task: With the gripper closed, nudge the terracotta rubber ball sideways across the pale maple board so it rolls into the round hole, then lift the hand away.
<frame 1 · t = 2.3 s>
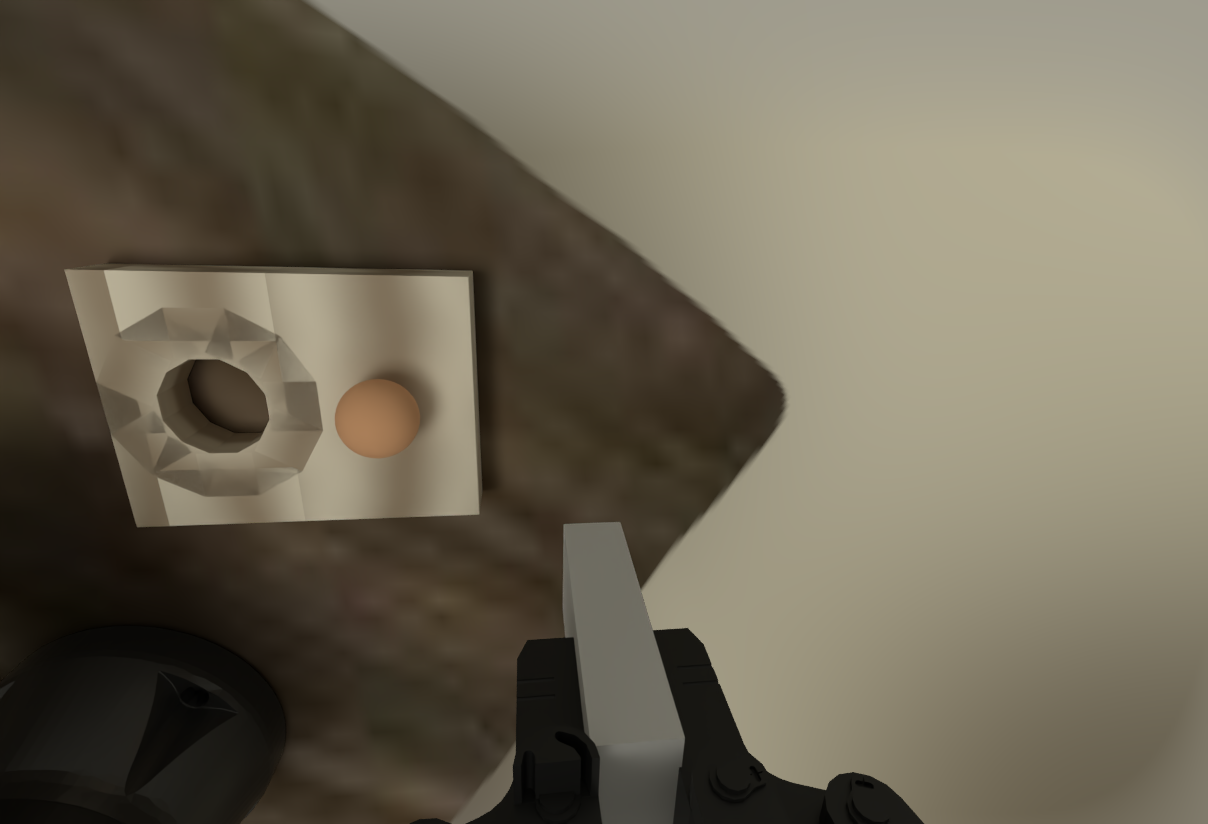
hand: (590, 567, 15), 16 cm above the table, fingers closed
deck: (314, 389, 29), on the table
ball: (378, 418, 25), point 4 cm above the table, touching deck
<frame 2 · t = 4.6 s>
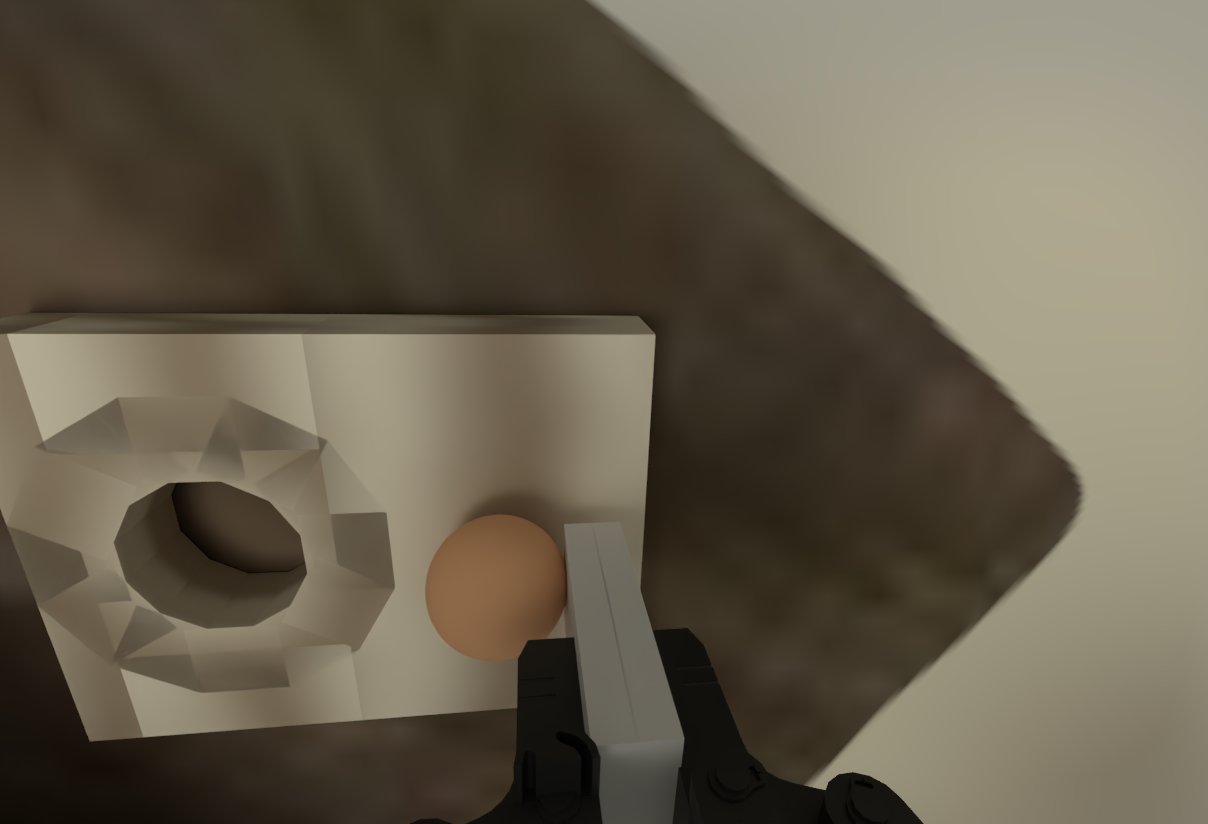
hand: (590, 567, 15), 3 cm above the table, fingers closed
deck: (375, 506, 18), on the table
ball: (498, 585, 14), point 4 cm above the table, touching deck, gripper
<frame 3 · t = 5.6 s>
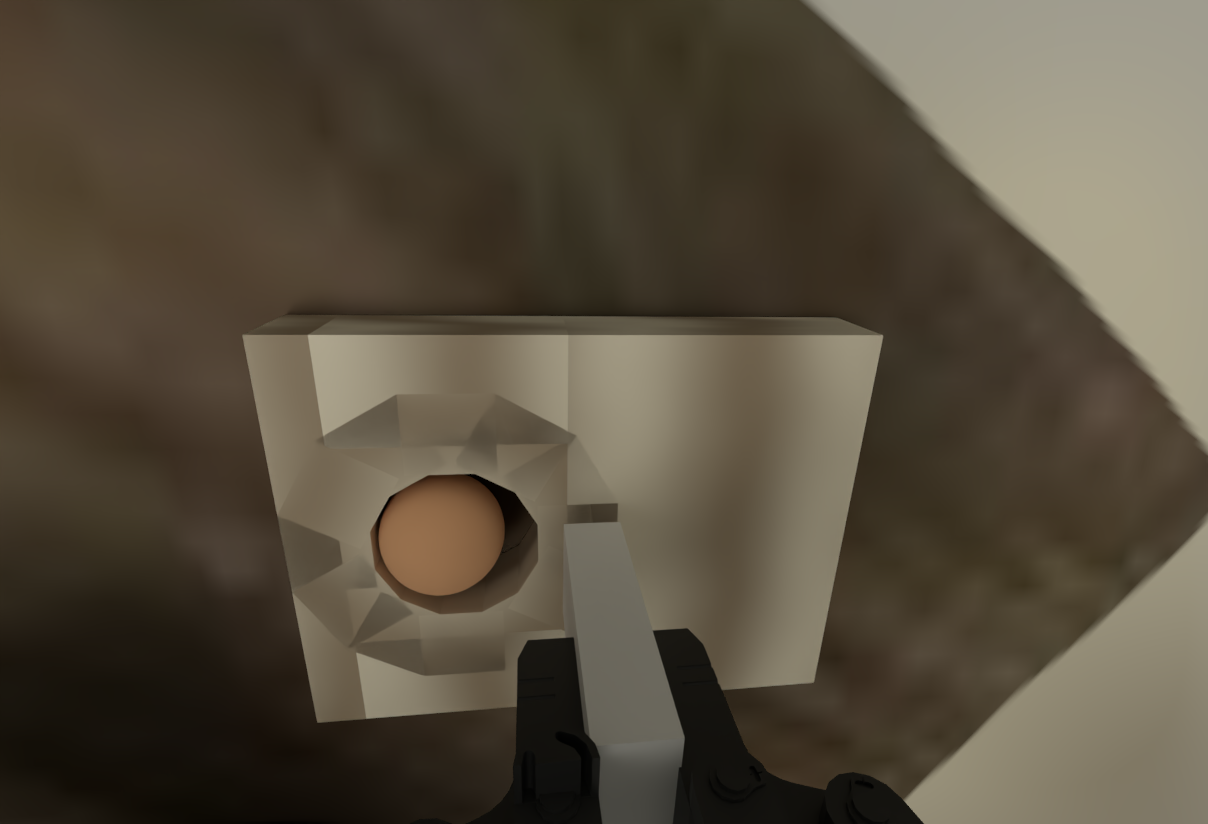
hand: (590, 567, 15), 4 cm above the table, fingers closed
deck: (575, 498, 19), on the table
ball: (443, 532, 17), point 2 cm above the table, tilted 43°
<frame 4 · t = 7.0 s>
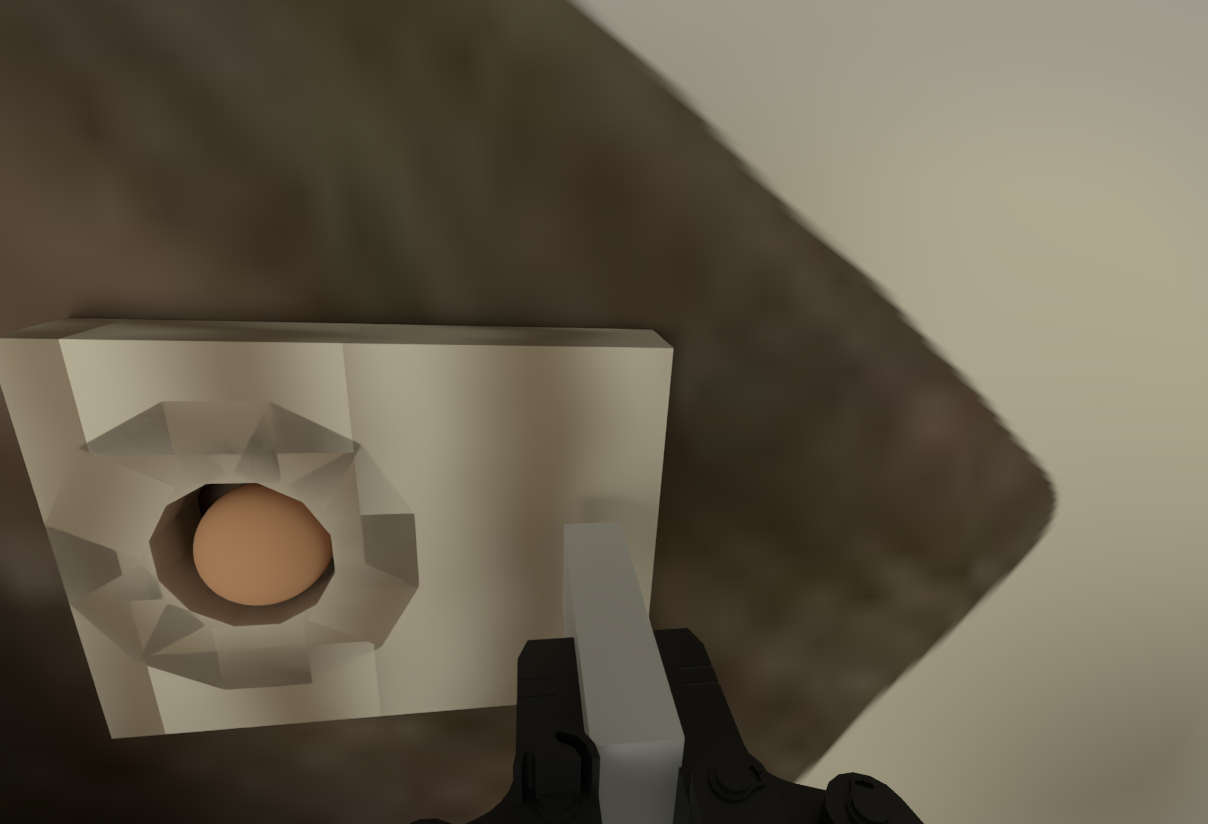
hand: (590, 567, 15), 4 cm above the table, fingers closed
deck: (396, 508, 18), on the table
ball: (268, 540, 16), point 2 cm above the table, tilted 68°
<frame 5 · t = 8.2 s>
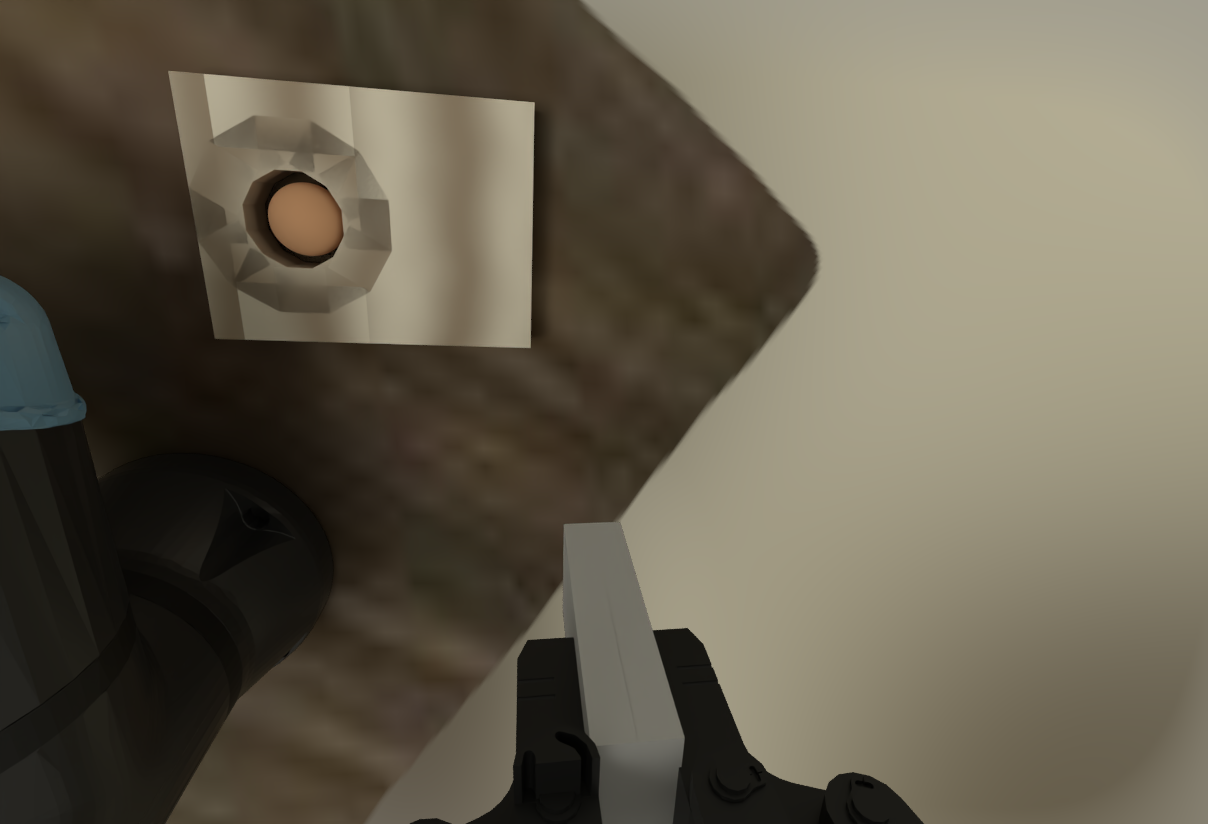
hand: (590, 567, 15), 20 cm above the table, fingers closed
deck: (381, 222, 31), on the table
ball: (308, 219, 28), point 2 cm above the table, tilted 71°
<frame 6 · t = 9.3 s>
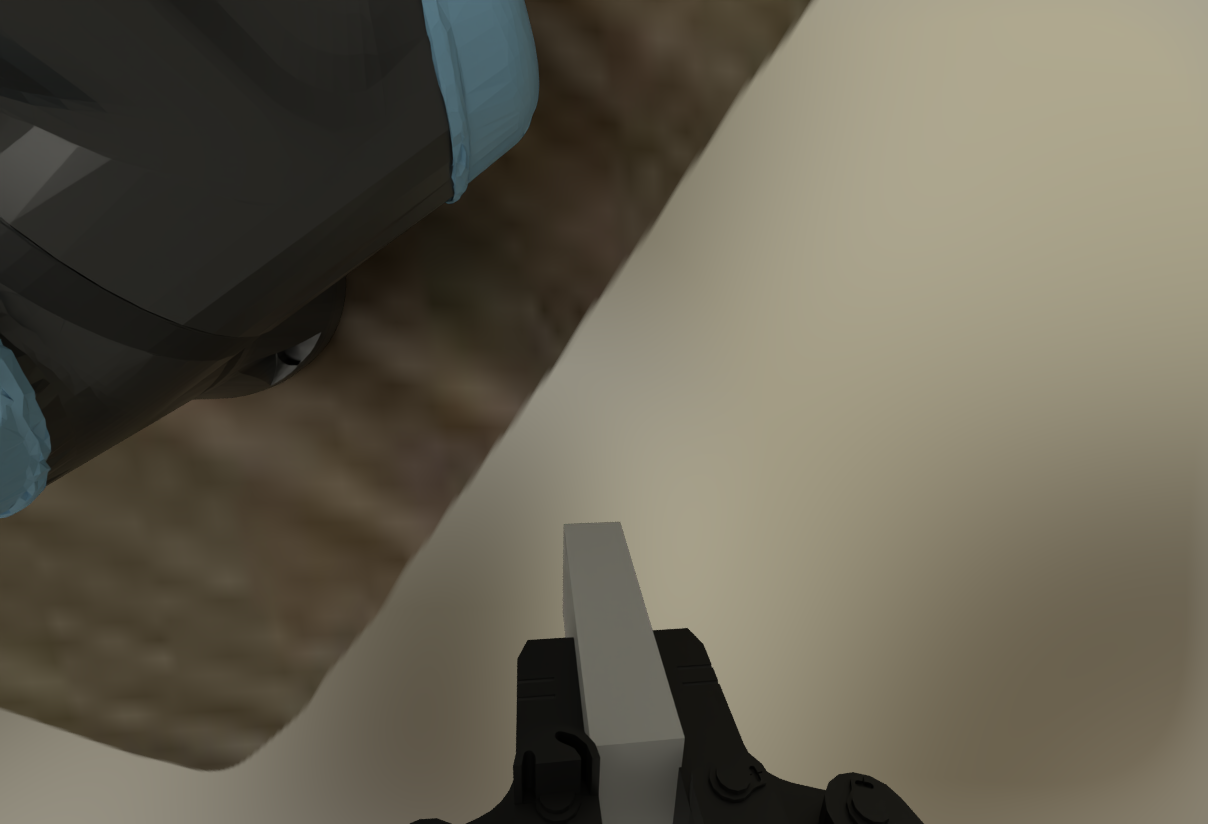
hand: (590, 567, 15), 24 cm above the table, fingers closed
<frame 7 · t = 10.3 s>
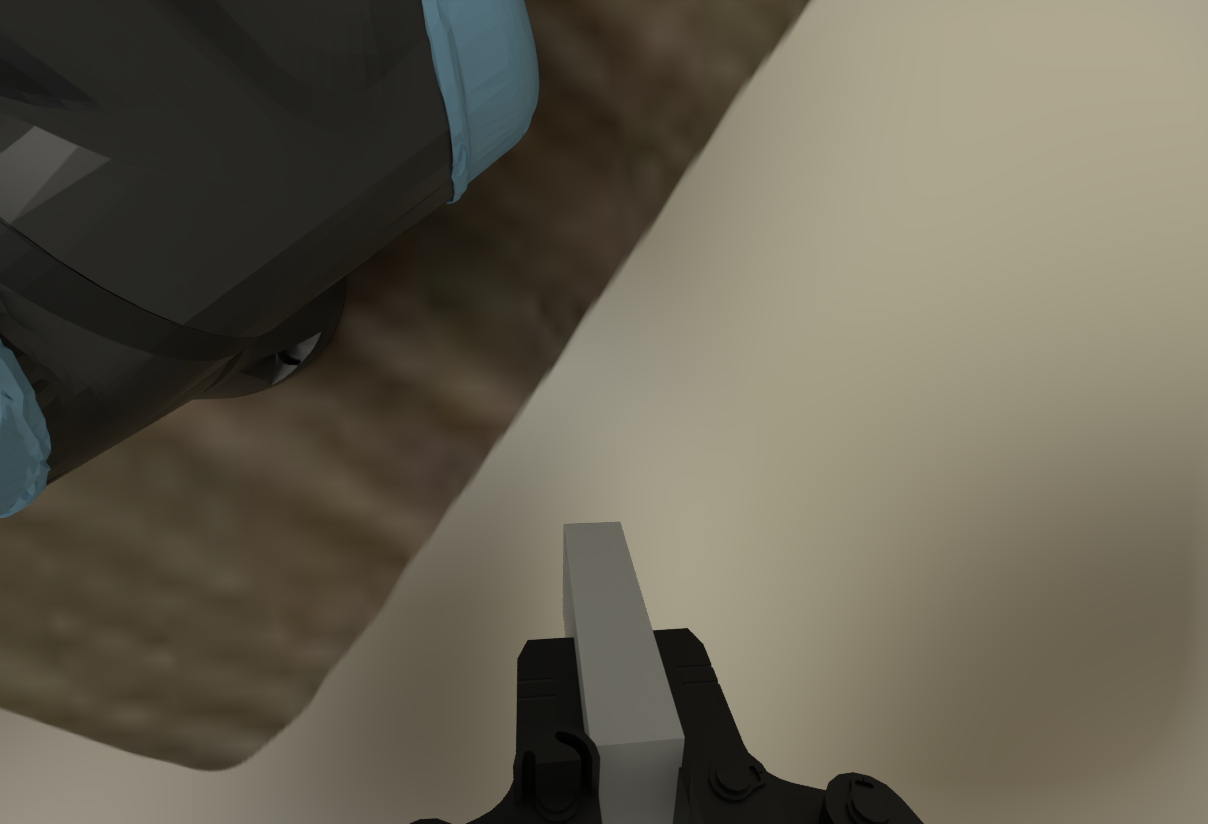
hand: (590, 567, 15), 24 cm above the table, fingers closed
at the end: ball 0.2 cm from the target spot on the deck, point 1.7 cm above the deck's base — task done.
